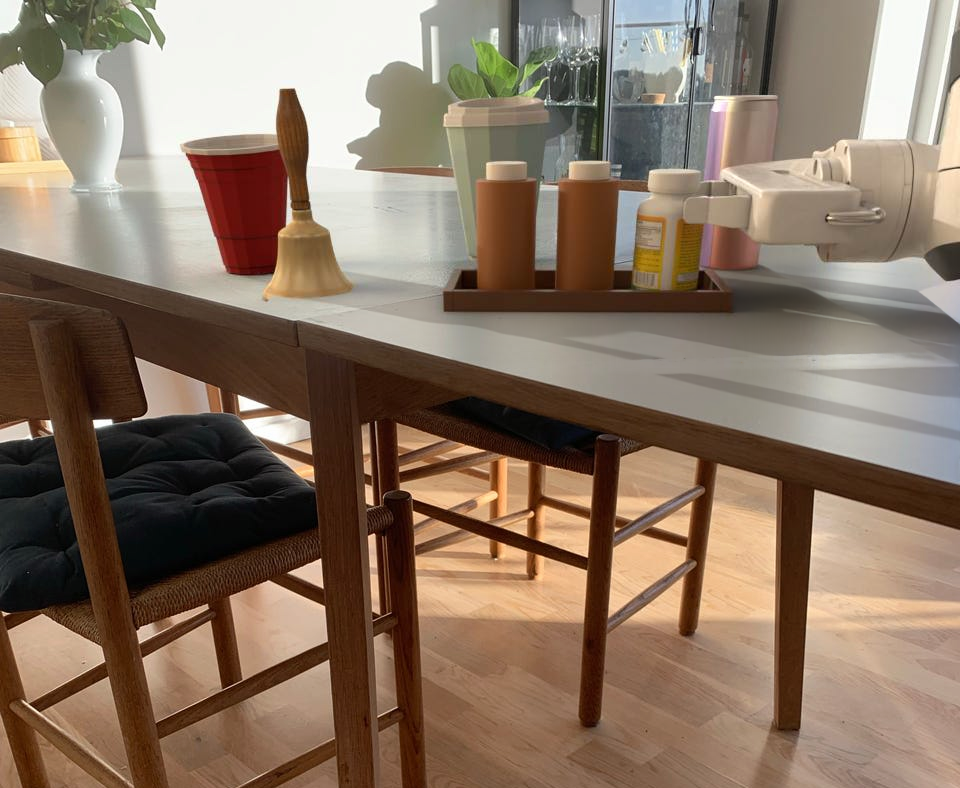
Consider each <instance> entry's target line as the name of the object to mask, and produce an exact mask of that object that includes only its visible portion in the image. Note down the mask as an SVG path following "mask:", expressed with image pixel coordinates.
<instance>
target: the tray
mask: <svg viewBox="0 0 960 788" xmlns="http://www.w3.org/2000/svg"><path fill="white" fill-rule="evenodd" d="M632 270H633V268H614V280H613V290H555V277H556V268H535V290H477V268H453V270H452V272H451V274H450V276H449V279H448V281H447V282H446V285H445V287H444V288H443V291H442V306H443V312H444V313H473V312H474V313H658V314H659V313H661V314H662V313H664V314H665V313H669V314H670V313H673V314H674V313H682V314H684V313H685V314H686V313H690V314H691V313H692V314H693V313H695V314H696V313H698V314H699V313H702V314H704V313H705V314H706V313H707V314H708V313H709V314H712V313H713V314H723V313H724V314H731V311H732V305H733V297H734V291H733V290H732V289H731V288H730V287H729V286H728V285H727V284H726V282H724V280H723V279H722V278H721V277H720V275H718V274H717V273H716V272H715V270H712V269H705V268H699V273H698V282H697V290H631V283H632Z"/></svg>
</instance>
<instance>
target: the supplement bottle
mask: <svg viewBox="0 0 960 788" xmlns="http://www.w3.org/2000/svg"><path fill="white" fill-rule="evenodd" d="M701 178H702V171H700V170H698V169H691V168H657V169H656V168H655V169H651V170H650V171H649V173H648V181H647V190H648V191H649V192H650V196H649V197H648V198H644V199H643V200H642V201H641V202H640V204H639V205H638V206H637V210H636V221H635V234H634V235H635V236H634V237H635V238H634V244H633V245H634V246H633V256H632V257H633V260H632V269H633V270H632V283H631V290H697V282H698V273H699V269H700V267H699V264H700V256H701V247H702V238H703V230H704V224H688V223H686V222H685V221H684V220H683V218H682V207H683V200H684V199H685V198H686V197H688V196H695V192H697V191H698V190H699V188H700V182H701Z"/></svg>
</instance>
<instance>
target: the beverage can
mask: <svg viewBox="0 0 960 788" xmlns="http://www.w3.org/2000/svg"><path fill="white" fill-rule="evenodd" d="M713 100H714V102H713V105H712V107H711V109H710V115H709V125H708V136H707V146H706V156H705V166H704V174H703V175H704V176H703V181H710V180H719V174H720V172H721V170H723V169H725V168H728V167H733V166H738V165H745V164H754V163H763V162H772V161H773V160H772V159H773V152H774V144H775V139H776V138H775V137H776V130H777V123H778V117H779V108H778V107H779V106H778V95H771V94H769V95H768V94H767V95H764V94H763V95H761V94H760V95H758V94H757V95H755V94H754V95H753V94H752V95H749V94H747V95H715V96H714V97H713ZM760 250H761V244H760V243H756V242H754V241H753V240H752V239H751V238H750V237H748V236H747V235H746V234H745V233H743V232H742V231H741V230H740V229H738V228H729V227H723V226H716V225H709V224H704V230H703V238H702V247H701V256H700V264H699V268H700V269H712V270H713V271H728V272H729V271H734V272H735V271H749V270H754V269H756V268H757V267H758V265H759V258H760V252H761V251H760Z"/></svg>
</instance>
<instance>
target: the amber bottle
mask: <svg viewBox="0 0 960 788" xmlns="http://www.w3.org/2000/svg"><path fill="white" fill-rule="evenodd" d="M610 174H611V162H610V161H605V160H576V161H569V163H568V177H561V178H559V179H558V184H557V214H556V215H557V216H556V217H557V218H556V244H555V245H556V246H555V248H556V249H555V269H556V277H555V290H613V280H614V269H615V263H616V262H615V261H616V248H617V247H616V245H617V228H618V214H619V213H618V212H619V195H620V181H621V180H620V178H617V177H611V176H610Z"/></svg>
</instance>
